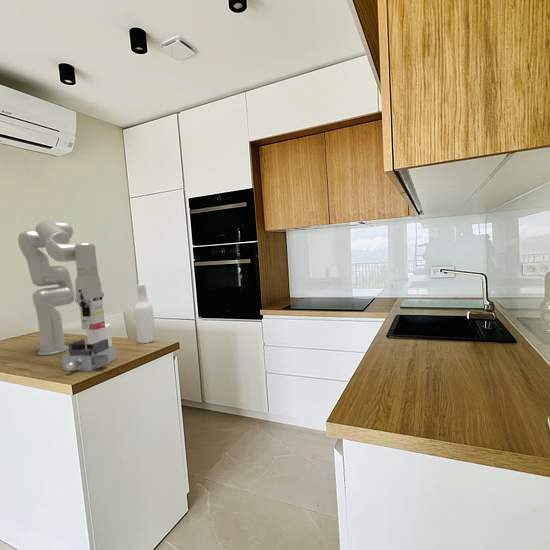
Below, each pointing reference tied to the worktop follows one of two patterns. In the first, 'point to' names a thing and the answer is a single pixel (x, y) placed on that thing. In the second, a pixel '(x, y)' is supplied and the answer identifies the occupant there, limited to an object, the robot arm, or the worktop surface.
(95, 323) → the ink box
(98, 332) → the toilet paper
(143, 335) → the alcohol
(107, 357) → the grey boxy piece
